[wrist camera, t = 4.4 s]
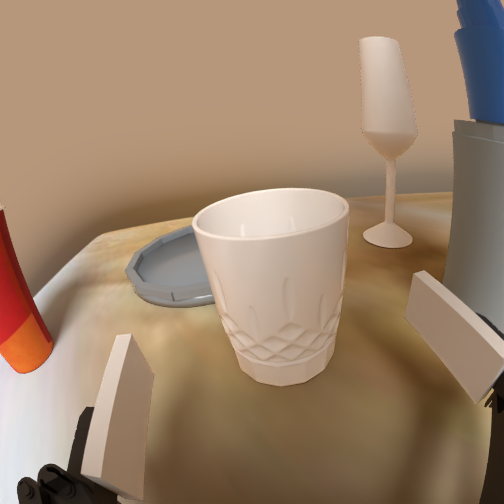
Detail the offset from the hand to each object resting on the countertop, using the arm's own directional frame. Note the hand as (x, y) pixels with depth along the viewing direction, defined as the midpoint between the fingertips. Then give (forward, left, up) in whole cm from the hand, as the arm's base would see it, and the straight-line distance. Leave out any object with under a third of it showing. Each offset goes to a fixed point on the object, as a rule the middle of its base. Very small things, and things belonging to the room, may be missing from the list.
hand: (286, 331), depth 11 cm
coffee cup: (+24, +6, -6) cm, 25 cm away
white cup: (+2, -4, -6) cm, 7 cm away
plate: (+15, -15, -6) cm, 22 cm away
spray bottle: (-14, -9, -6) cm, 18 cm away
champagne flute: (-6, -24, -6) cm, 26 cm away
